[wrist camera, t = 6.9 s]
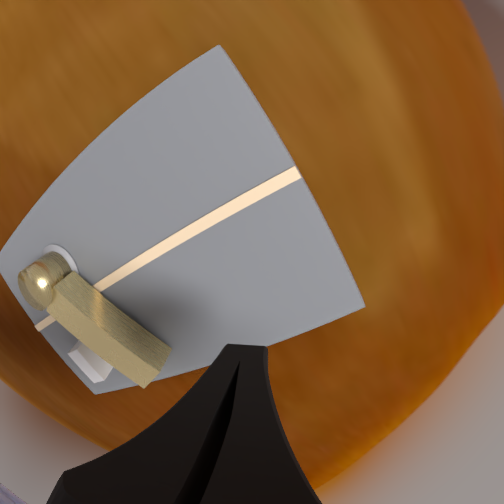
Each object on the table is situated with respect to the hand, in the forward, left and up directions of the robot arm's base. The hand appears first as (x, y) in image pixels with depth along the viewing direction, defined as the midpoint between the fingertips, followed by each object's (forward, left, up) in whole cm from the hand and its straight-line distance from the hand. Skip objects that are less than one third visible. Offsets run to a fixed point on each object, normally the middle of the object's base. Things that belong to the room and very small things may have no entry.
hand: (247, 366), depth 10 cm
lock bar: (-3, -11, -6) cm, 13 cm away
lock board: (-4, -8, -7) cm, 11 cm away
